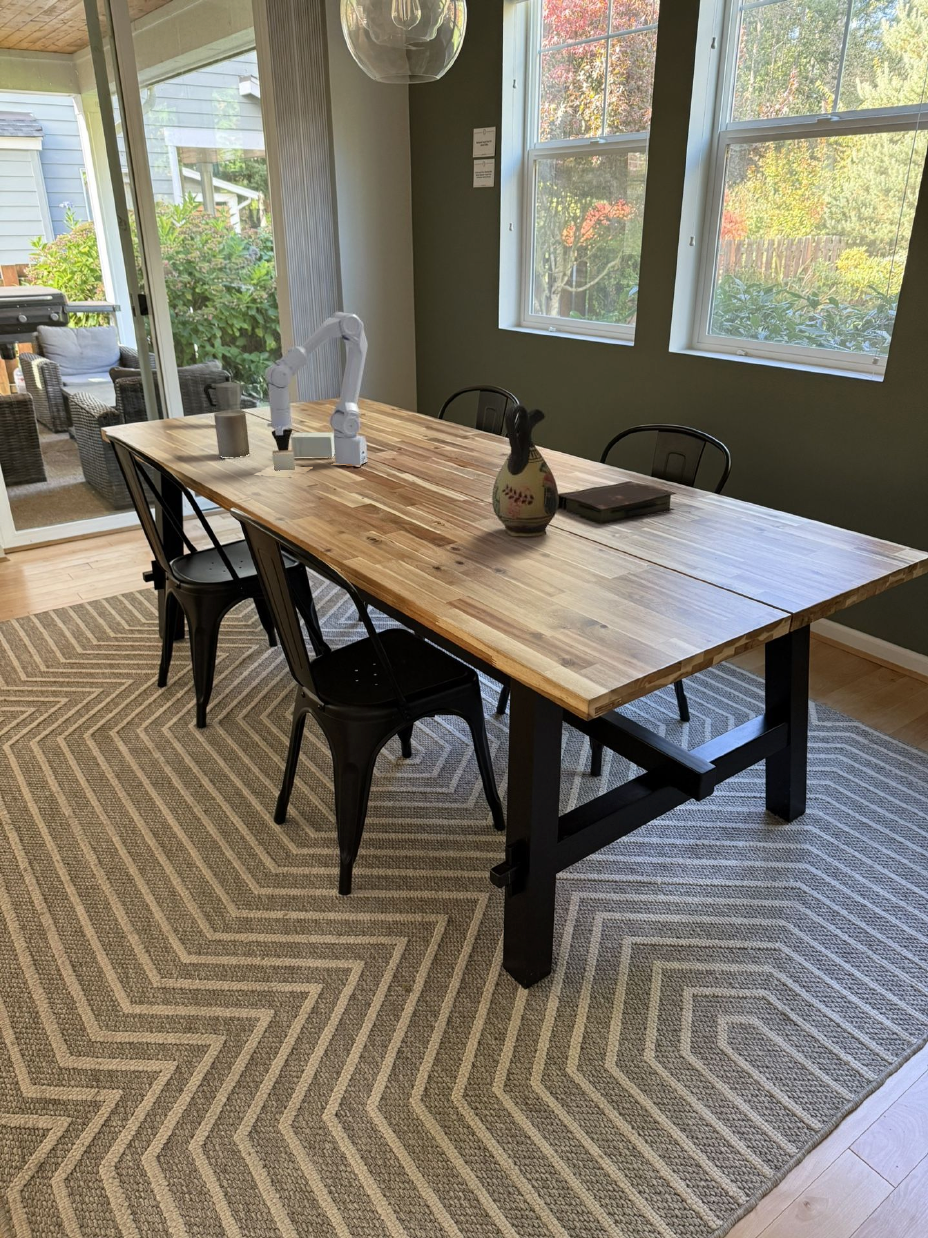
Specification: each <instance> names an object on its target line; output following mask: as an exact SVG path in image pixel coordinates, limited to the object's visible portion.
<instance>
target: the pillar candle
mask: <svg viewBox="0 0 928 1238" xmlns="http://www.w3.org/2000/svg"><path fill="white" fill-rule="evenodd" d="M246 415H247V414H246V412H245V411H243V410H241V411H239V410H231V411H230V410H229V411H221V412H220V411H217V412H214V413H213V417H214V423H215V424H214V426H215V434H216V441H217V443H216V444H217V448H218V449H217V450H218V457H219V456H222V457H240V456H246V455H248V454H251V453H250V444H249V436H248V425H247V417H246Z"/></svg>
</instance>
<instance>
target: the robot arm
mask: <svg viewBox="0 0 928 1238" xmlns="http://www.w3.org/2000/svg"><path fill="white" fill-rule="evenodd" d="M364 327H365V324H364V323H363V321H362V320H361V319H360V318H359V316H358V315H357V314H354V313H345V312H343V311H336V312H334V313H333V314H331V316H330V317H328V318H326V319H325V320H324V322H323V323H322V324H321V325H320V326H319V327H318V328H317V329H315V331H314V332H313V333H312V334H311V335H310V336H309V338H307V340H305V341H304V343H303V344H302V345H300V346H299V345H298V346H296V345H295V346H293V347H291V346H290V347H289V348H287V349H286V351H287V352H286V353H285V354H284V355H283V356H282V357H281V358H280V359H277V360H275V364H272V365H269V367H267V369H266V370H265V374H264V379H265V380H264V381H266V383H267V384H268V385H267V386H268V398H269V409H270V410H269V411H270V422H269V423H267V425H266V426H267V427H268V428H269V427H270V428H272V429H273V431H271V436H272V438H273V439H274V440H275V443H276V445H277V451H279V450H289V449H290V448H289V446H290V441H291V437H292V433H293V429H292V428H291V427H293V423H292V415H291V402H290V400H291V399H290V391H289V390H290V388H289V385H290V383H291V381H292V377H294V376H295V375H296V374H297V373H298V372H300V370H301V369H303V368H304V367H305V366H306V365H307V364H308V363H309V359H310V355H311V354H313V353H314V352H315V351H316V350H317V349H318V348H320V347H321V346H323V344H324V343H326V342H327V341H328V340H329V339H334V338H335V339H336V338H341V339H342V341H344V343H345V344H346V346H347V348H348V350H347V356H346V362H345V369H344V373H343V374H344V375H343V379H342V380H343V381H342V385H341V391H340V397H339V401H338V402H337V403H336V405H335V408H334V410H333V413H332V415H330V419H329V425H330V426H331V428H332V429H333V431H334V432H333V433H334V450H335V456H334V462H335V463H339V464H352V465H361V464H362V463H365V462H367V461H368V450H367V449H368V448H367V439H366V437H365V436H362V435H361V436H360V435H358V433H359V431H360V429H361V421H360V410H359V406H358V402H359V396H360V392H361V391H360V390H361V385H362V380H363V373H364V368H365V362H366V357H367V352H368V347H369V345H368V340H367V338H366V333H365V330H364Z"/></svg>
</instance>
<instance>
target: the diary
mask: <svg viewBox="0 0 928 1238" xmlns="http://www.w3.org/2000/svg"><path fill="white" fill-rule="evenodd" d="M672 495H673V496H674V495H677V492H675V491H671V490H668V489H665V488H663V487H662V488H661V487H658V486H655V485H650V484H645V483H640V482H635V481H631V480H628V481H624V482H620V483H619V482H618V483H615V484H610V485H603V486H594V487H590V488H589V487H588V488H585V489H581V490H576V491H569V492H568V491H567V492H560V493H559V492H558V496H559V503H558V508H557V510H560V509H561V511H566V512H569V513H572V514H574V515H577V516H578V518H581V519H582V520H585V521H589V522H590V523H592V524H596V525H608V524H613V523H617V522H618V523H619V522H623V521H627V520H632V519H635V518H641V517H642V518H643V517H648V516H649V515H654V514H658V513H657V512H662V513H665V512H664V511H667V512H672V511H671V510H673V511H675V510H674V508H671V500H672V499H671V498H672V497H671V496H672ZM648 514H649V515H648Z"/></svg>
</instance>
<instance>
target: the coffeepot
mask: <svg viewBox="0 0 928 1238" xmlns="http://www.w3.org/2000/svg"><path fill="white" fill-rule="evenodd" d="M224 379H225V381H224V382H221V383H207V384H205V386H204V387H203V390H202V391H203V393H204V396H205V398H206V399H207V401H208V404H209V405H210V407H213V408H216V407H217V403H213V398H212V397H211V394H210V391H209V390H215V391H216V397H217V400H218V403H219V404H220V410H219V412H221V411H229V410H230V411H231V410H239V411H242V409H241V406H240V404H241V402H242V400H241V398H242V395H243V393H244V391H245V389H246V388H247V387H248V385H246V384H244V383H238V382H234V381H233V382H232V381H230V379H231V378H230V376H225V377H224Z"/></svg>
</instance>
